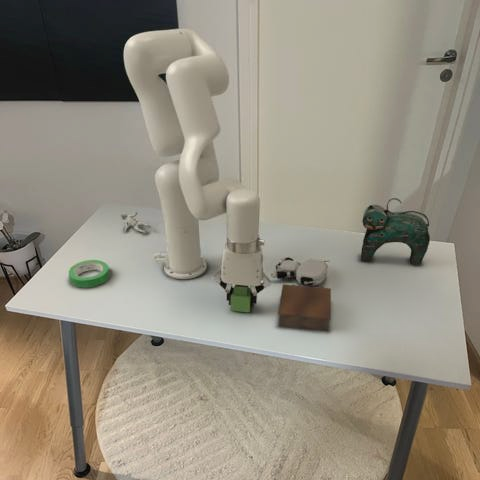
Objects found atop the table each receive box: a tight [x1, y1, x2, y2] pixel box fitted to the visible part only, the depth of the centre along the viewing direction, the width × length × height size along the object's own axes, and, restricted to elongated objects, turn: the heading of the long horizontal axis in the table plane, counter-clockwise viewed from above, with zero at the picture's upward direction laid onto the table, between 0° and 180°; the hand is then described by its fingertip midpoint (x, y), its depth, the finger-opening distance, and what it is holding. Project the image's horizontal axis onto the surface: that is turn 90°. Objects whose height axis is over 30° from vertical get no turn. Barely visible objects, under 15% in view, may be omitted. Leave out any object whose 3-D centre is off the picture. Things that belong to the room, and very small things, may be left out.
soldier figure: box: [120, 211, 151, 235], centre depth 156 cm, size 8×5×12 cm
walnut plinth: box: [277, 284, 332, 332], centre depth 118 cm, size 13×13×4 cm
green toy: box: [230, 284, 252, 313], centre depth 119 cm, size 5×5×7 cm
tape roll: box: [68, 259, 111, 289], centre depth 133 cm, size 11×11×3 cm
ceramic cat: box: [360, 197, 431, 266], centre depth 134 cm, size 20×6×20 cm, turn 80°
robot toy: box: [270, 256, 331, 287], centre depth 132 cm, size 12×4×15 cm
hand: (241, 302), depth 121 cm, fingers closed on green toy, 5 cm apart
